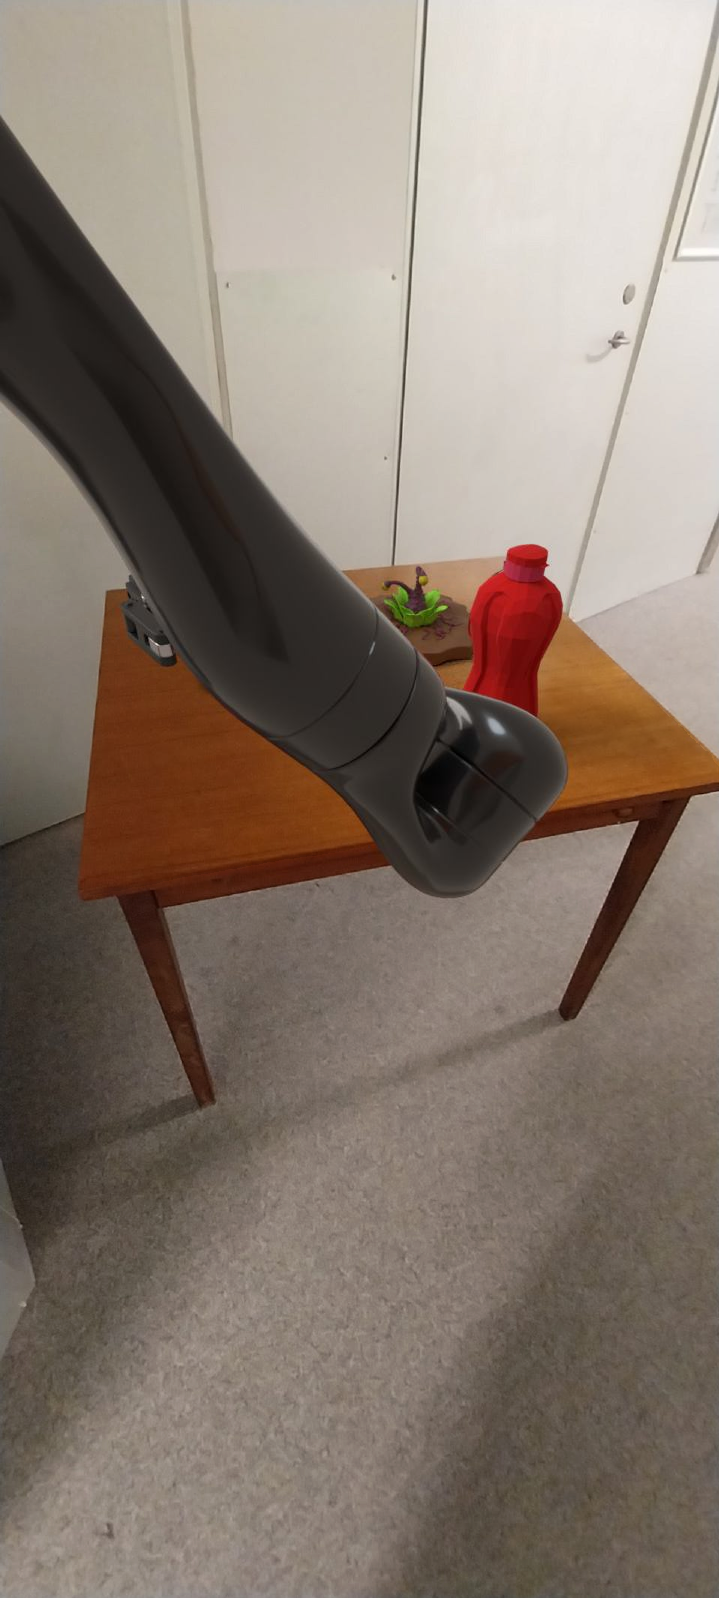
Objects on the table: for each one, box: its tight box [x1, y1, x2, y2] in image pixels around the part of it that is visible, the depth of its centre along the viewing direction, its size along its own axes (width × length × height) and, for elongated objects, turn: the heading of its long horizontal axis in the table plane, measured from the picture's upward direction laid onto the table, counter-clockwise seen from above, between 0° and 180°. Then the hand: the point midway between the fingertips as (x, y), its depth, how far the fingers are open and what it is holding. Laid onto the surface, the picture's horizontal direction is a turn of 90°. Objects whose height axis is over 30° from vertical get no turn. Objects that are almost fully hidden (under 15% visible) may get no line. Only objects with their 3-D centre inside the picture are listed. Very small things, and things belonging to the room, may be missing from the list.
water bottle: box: [462, 543, 564, 718], centre depth 80 cm, size 9×11×25 cm
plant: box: [368, 565, 473, 666], centre depth 103 cm, size 20×20×11 cm
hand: (185, 572), depth 53 cm, fingers open, 8 cm apart
